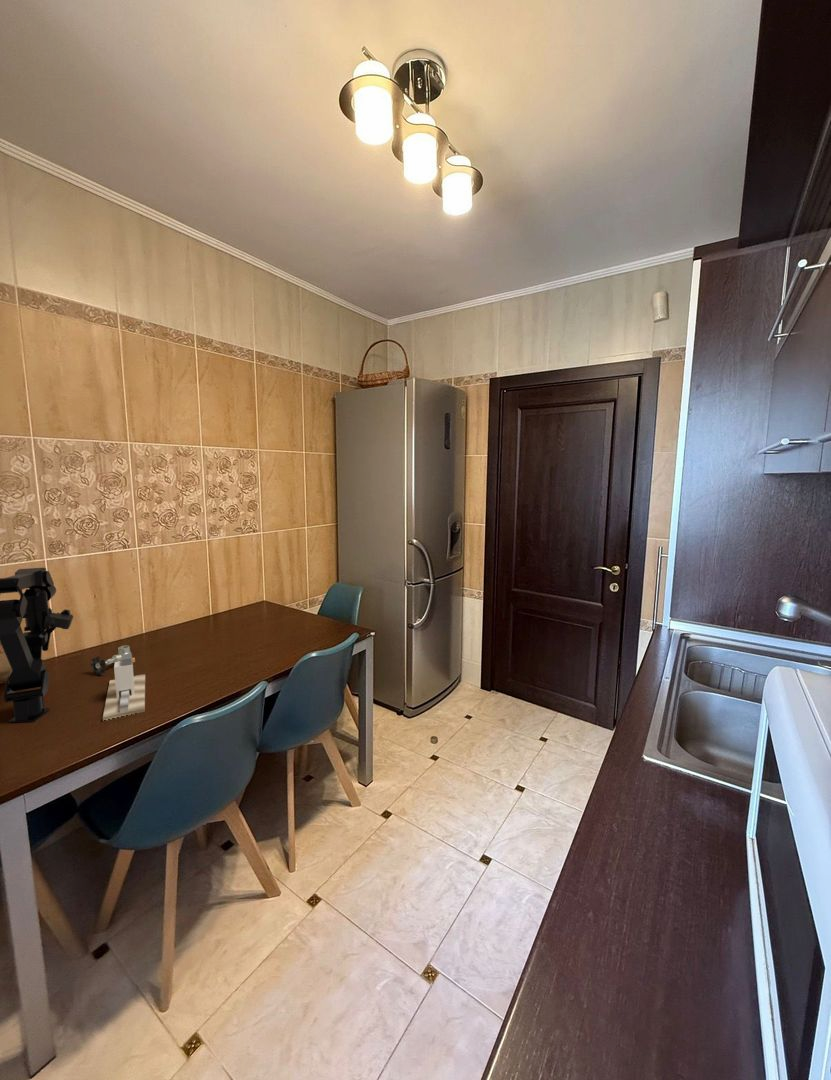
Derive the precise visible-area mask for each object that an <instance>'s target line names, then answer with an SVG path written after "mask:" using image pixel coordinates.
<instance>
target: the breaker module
mask: <svg viewBox="0 0 831 1080" xmlns="http://www.w3.org/2000/svg"><path fill="white" fill-rule="evenodd" d="M135 662H136V657H133V653H132V652H131V653H130V654H124V655H123V659H122V661H119V662H115V663H114V666H113V669H114V671H113V672H114V680H115V684H116V695H117V698H119V697H120V691H123V690H128V689H131V692H132V695H134V691H135V687H134V676H135V675H134V665H133V664H134V663H135Z"/></svg>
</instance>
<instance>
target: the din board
mask: <svg viewBox="0 0 831 1080" xmlns="http://www.w3.org/2000/svg"><path fill="white" fill-rule="evenodd" d="M134 687H135V691H134V695H132V692H131V689H128V690H123V691H120V697H119V698H117V695H116V684H115V679H110V680H109V684H108V689H107V693H106V699H105V704H104V709H103V715H102V721H103V722H105V721H104V720H106V721H109V720H108V719H110V720H113V719H112V718H115V719H118V718H117V717H119V718H122V717H121V716H124V717H127V716H126V715H128V716H131V714H132V715H136V714H135V713H137V714H142V713H145V711H146V673H144V674H138V675H137V674H136V675H134Z"/></svg>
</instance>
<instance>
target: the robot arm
mask: <svg viewBox="0 0 831 1080" xmlns="http://www.w3.org/2000/svg"><path fill="white" fill-rule="evenodd" d="M23 590H25V591H24V592H23ZM11 593H18V595H19V596H20V597H19V599H6V600H0V645H1V647H2V650H3V652H4V654H5V657H6V659H7V661H8V663H9V666H10V672H9V673H8V674H9V675H8V676H7V679H6V681H5V686H4V693H3V700H4V702H5V703H11V702H12V704H13V712H14V713H13V714H14V717H12V718H10V719H9V720H8V721H9V723H33V722H35V721H37V720H39V718H41V717H42V716H44V715H45V714H46V713H48V712H49V711H50V707H45V702H44V697H45V695H46V694H47V693H48V691H49V686H50V685H49V683H50V682H49V677H50V676H49V670H48V669H46V666H45V663H44V660H43V659H42V654H43V652H48V651H49V647H50V646H49V645H50V642H51V641H50V640H51V636H52V632H54V631H55V630H56V629H57V628H58V629H62V630H69V629H70V627H71V626H72V622H73V619H74V615H73V614H71V610H70V609H66V608H65V609H63V610H62V611H60V612H57V613H56V612H53V610H52V608H51V607H49V601H50V600H51V599H52V598H53V597H54V596H55V595H56V593H57V588H56V586H55V583H54V580H53V577H52V576H51V574H50V571H49V570H47V568H46V567H32V568H19V569H17V570H16V571H15V572H14V575H10V576H8V577H3V578H0V595H1V594H11ZM23 619H25V620H24V621H25V626H24V628H23V629H22V626H21V625H22V622H23ZM23 630H24V632H23ZM16 691H17V692H16Z"/></svg>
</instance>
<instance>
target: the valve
mask: <svg viewBox="0 0 831 1080" xmlns="http://www.w3.org/2000/svg"><path fill="white" fill-rule="evenodd" d="M117 649H118V650H117V652H118V653H117V654H114V655H112V657H111V658H109V659H106V660H104V659H100V656H95V657H92V658H91V660H90V661H91V663H90V664H89V665H90V667H91V668H93V669H92V673H96V676H100V675H104V674H105V673H106V672H105V670H104V669H106V668H107V666H108V665H111V664H113V663H114V664H115V662H119V661H122V659H123V655H124V654H130V653H132V652H131V649H130V645H127V644H126V645H120V646H119V647H118V648H117Z"/></svg>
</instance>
